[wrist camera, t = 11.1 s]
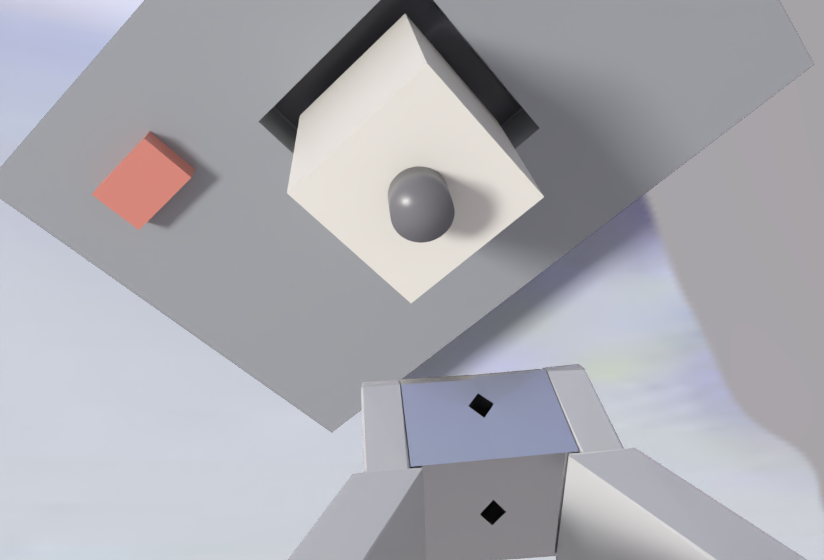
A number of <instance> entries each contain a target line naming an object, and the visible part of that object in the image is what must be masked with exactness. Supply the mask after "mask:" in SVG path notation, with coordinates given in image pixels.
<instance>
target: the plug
mask: <svg viewBox="0 0 824 560" xmlns="http://www.w3.org/2000/svg"><path fill="white" fill-rule="evenodd" d="M287 194H288V195H290V196H291V197H292V198H293V199H294V200H295V201H296V202H297V203H299V204H300V205H301V206H302V207H303V208H304V209H305V210H306V211H307V212H309V213H310V214H311V215H312V216H313V217H314V218H315V219H316V220H318V221H319V222H320V223H321V224H322V225H323V226H324V227H325V228H327V229H328V230H329V231H330V232H331V233H332V234H333V235H334V236H336V237H337V238H338V239H339V240H340V241H341V242H342V243H343V244H345V245H346V246H347V247H348V248H349V249H350V250H351V251H352V252H354V253H355V254H356V255H357V256H358V257H359V258H360V259H361V260H363V261H364V262H365V263H366V264H367V265H368V266H369V267H370V268H372V269H373V270H374V271H375V272H376V273H377V274H378V275H379V276H381V277H382V278H383V279H384V280H385V281H386V282H387V283H388V284H390V285H391V286H392V287H393V288H394V289H395V290H396V291H397V292H399V293H400V294H401V295H402V296H403V297H404V298H405V299H406V300H408V301H409V302H410V303H412V302H414V301H415V300H416V299H417V298H419V297H420V296H421V295H422V294H424V293H425V292H426V291H427V290H429V289H430V288H431V287H432V286H434V285H435V284H436V283H437V282H439V281H440V280H441V279H442V278H444V277H445V276H446V275H447V274H449V273H450V272H451V271H452V270H454V269H455V268H456V267H457V266H459V265H460V264H461V263H462V262H464V261H465V260H466V259H467V258H469V257H470V256H471V255H472V254H474V253H475V252H476V251H477V250H479V249H480V248H481V247H482V246H484V245H485V244H486V243H487V242H489V241H490V240H491V239H492V238H494V237H495V236H496V235H497V234H499V233H500V232H501V231H502V230H504V229H505V228H506V227H507V226H509V225H510V224H511V223H512V222H514V221H515V220H516V219H517V218H519V217H520V216H521V215H522V214H524V213H525V212H526V211H527V210H529V209H530V208H531V207H532V206H534V205H535V204H536V203H537V202H539V201H540V200H541V199H542V198H544V196H543V194H542V192H541V191H540V189H539V188H538V186H537V184H536V183H535V181H534V179H533V178H532V176H531V175H530V173H529V171H528V170H527V168H526V166H525V165H524V163H523V162H522V160H521V158H520V157H519V155H518V153H517V152H516V150H515V149H514V147H513V145H512V144H511V142H510V140H509V139H508V137H507V136H506V134H505V132H504V131H503V129H502V127H501V126H500V124H499V123H498V121H497V120H496V119H495V117H494V116H493V115H492V114H491V113H490V112H489V110H488V109H487V108H486V107H485V106H484V105H483V103H482V102H481V101H480V100H479V99H478V98H477V96H476V95H475V94H474V93H473V92H472V91H471V89H470V88H469V87H468V86H467V85H466V84H465V82H464V81H463V80H462V79H461V78H460V77H459V75H458V74H457V73H456V72H455V71H454V70H453V68H452V67H451V66H450V65H449V64H448V63H447V61H446V60H445V59H444V58H443V57H442V56H441V54H440V53H439V52H438V51H437V50H436V49H435V48H434V46H433V45H432V44H431V43H430V42H429V41H428V39H427V38H426V37H425V36H424V35H423V34H422V32H421V31H420V30H419V29H418V28H417V27H416V25H415V24H414V23H413V22H412V21H411V20H410V18H409V17H408V16H407V15H406V14H404V15H403V16H402V17H401V18H400V19H399V20H398V21H397V22H396V23H395V24H394V25H393V26H392V27H391V28H389V29H388V30H387V31H386V32H385V33H384V34H383V35H382V36H381V37H380V38H379V39H378V40H377V41H376V42H375V43H374V44H373V45H372V46H371V47H370V48H369V49H368V50H367V51H366V52H365V53H364V54H363V55H362V56H361V57H360V58H359V59H358V60H357V61H355V62H354V63H353V64H352V65H351V66H350V67H349V68H348V69H347V70H346V71H345V72H344V73H343V74H342V75H341V76H340V77H339V78H338V79H337V80H336V81H335V82H334V83H333V84H332V85H331V86H330V87H329V88H328V89H327V90H326V91H325V92H324V93H322V94H321V95H320V96H319V97H318V98H317V99H316V100H315V101H314V102H313V103H312V104H311V105H310V106H309V107H308V108H307V109H306V110H305V111H304V112H303V113H302V114H301V115H300V117H299V123H298V129H297V135H296V141H295V147H294V153H293V159H292V165H291V171H290V177H289V183H288V189H287Z"/></svg>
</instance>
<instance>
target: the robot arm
mask: <svg viewBox="0 0 824 560" xmlns="http://www.w3.org/2000/svg"><path fill="white" fill-rule="evenodd" d="M361 405H362V432H363V458H364V473H357V474H352V475H351V477H350V478H349V479H348V481H347V482H346V483H345V485H344V486H343V487H342V489H341V490H340V491H339V493H338V494H337V495H336V497H335V498H334V499H333V501H332V502H331V503H330V505H329V506H328V507H327V509H326V510H325V511H324V512H323V514H322V515H321V516H320V518H319V519H318V520H317V522H316V523H315V524H314V526H313V527H312V528H311V530H310V531H309V532H308V534H307V535H306V536H305V538H304V539H303V540H302V542H301V543H300V544H299V546H298V547H297V548H296V549H295V551H294V552H293V553H292V555H291V556H290V557H289V559H288V560H506V559H520V558H533V557H547V556H556V560H807V559H805V558H804V557H802V556H801V555H799V554H798V553H796V552H795V551H793V550H791V549H790V548H788V547H787V546H785V545H784V544H782V543H781V542H779V541H778V540H776V539H775V538H773V537H771V536H770V535H768V534H767V533H765V532H764V531H762V530H761V529H759V528H758V527H756V526H755V525H753V524H751V523H750V522H748V521H747V520H745V519H744V518H742V517H741V516H739V515H738V514H736V513H734V512H733V511H731V510H730V509H728V508H727V507H725V506H724V505H722V504H721V503H719V502H718V501H716V500H714V499H713V498H711V497H710V496H708V495H707V494H705V493H704V492H702V491H701V490H699V489H698V488H696V487H694V486H693V485H691V484H690V483H688V482H687V481H685V480H684V479H682V478H681V477H679V476H678V475H676V474H674V473H673V472H671V471H670V470H668V469H667V468H665V467H664V466H662V465H661V464H659V463H658V462H656V461H654V460H653V459H651V458H650V457H648V456H647V455H645V454H644V453H642V452H641V451H639V450H637V449H636V448H630V449H624V448H623V446H622V444H621V442H620V440H619V438H618V436H617V434H616V432H615V430H614V428H613V426H612V424H611V422H610V420H609V418H608V416H607V414H606V412H605V410H604V408H603V406H602V404H601V402H600V400H599V398H598V395H597V393H596V391H595V389H594V387H593V385H592V383H591V381H590V379H589V377H588V375H587V373H586V371H585V369H584V368H583V367H582V366H580V365H579V364H574V365H565V366H555V367H546V368H542V369H534V370H523V371H512V372H501V373H489V374H478V375H462V376H446V377H429V378H413V379H400V383H399V381H398V380H389V381H374V382H362V387H361Z"/></svg>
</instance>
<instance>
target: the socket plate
mask: <svg viewBox="0 0 824 560" xmlns="http://www.w3.org/2000/svg"><path fill="white" fill-rule="evenodd" d="M404 14H406V15H407V16H408V17H409V18H410V20H411V21H412V22H413V23H414V24H415V25H416V27H417V28H418V29H419V30H420V31H421V32H422V34H423V35H424V36H425V37H426V38H427V39H428V41H429V42H430V43H431V44H432V45H433V46H434V48H435V49H436V50H437V51H438V52H439V53H440V54H441V56H442V57H443V58H444V59H445V60H446V61H447V63H448V64H449V65H450V66H451V67H452V68H453V70H454V71H455V72H456V73H457V74H458V75H459V77H460V78H461V79H462V80H463V81H464V82H465V84H466V85H467V86H468V87H469V88H470V89H471V91H472V92H473V93H474V94H475V95H476V96H477V98H478V99H479V100H480V101H481V102H482V103H483V105H484V106H485V107H486V108H487V109H488V110H489V112H490V113H491V114H492V115H493V116H494V117H495V119H496V120H497V121H498V123H499V124H500V126H501V127H502V129H503V131H504V132H505V134H506V136H507V137H508V139H509V140H510V142H511V144H512V145H513V147H514V149H515V150H516V152H517V153H518V155H519V157H520V158H521V160H522V162H523V163H524V165H525V166H526V168H527V170H528V171H529V173H530V175H531V176H532V178H533V179H534V181H535V183H536V184H537V186H538V188H539V189H540V191H541V192H542V194H543V196H544V198H542V199H541V200H540V201H539V202H537V203H536V204H535V205H534V206H532V207H531V208H530V209H529V210H527V211H526V212H525V213H524V214H522V215H521V216H520V217H519V218H517V219H516V220H515V221H514V222H512V223H511V224H510V225H509V226H507V227H506V228H505V229H504V230H502V231H501V232H500V233H499V234H497V235H496V236H495V237H494V238H492V239H491V240H490V241H489V242H487V243H486V244H485V245H484V246H482V247H481V248H480V249H479V250H477V251H476V252H475V253H474V254H472V255H471V256H470V257H469V258H467V259H466V260H465V261H464V262H462V263H461V264H460V265H459V266H457V267H456V268H455V269H454V270H452V271H451V272H450V273H449V274H447V275H446V276H445V277H444V278H442V279H441V280H440V281H439V282H437V283H436V284H435V285H434V286H432V287H431V288H430V289H429V290H427V291H426V292H425V293H424V294H422V295H421V296H420V297H419V298H417V299H416V300H415V301H414V302H412V303H410V302H409V301H408V300H406V299H405V298H404V297H403V296H402V295H401V294H400V293H399V292H397V291H396V290H395V289H394V288H393V287H392V286H391V285H390V284H388V283H387V282H386V281H385V280H384V279H383V278H382V277H381V276H379V275H378V274H377V273H376V272H375V271H374V270H373V269H372V268H370V267H369V266H368V265H367V264H366V263H365V262H364V261H363V260H361V259H360V258H359V257H358V256H357V255H356V254H355V253H354V252H352V251H351V250H350V249H349V248H348V247H347V246H346V245H345V244H343V243H342V242H341V241H340V240H339V239H338V238H337V237H336V236H334V235H333V234H332V233H331V232H330V231H329V230H328V229H327V228H325V227H324V226H323V225H322V224H321V223H320V222H319V221H318V220H316V219H315V218H314V217H313V216H312V215H311V214H310V213H309V212H307V211H306V210H305V209H304V208H303V207H302V206H301V205H300V204H299V203H297V202H296V201H295V200H294V199H293V198H292V197H291V196H290V195H288V194H287V189H288V183H289V177H290V171H291V165H292V159H293V153H294V147H295V141H296V135H297V129H298V123H299V117H300V115H301V114H302V113H303V112H304V111H305V110H306V109H307V108H308V107H309V106H310V105H311V104H312V103H313V102H314V101H315V100H316V99H317V98H318V97H319V96H320V95H321V94H322V93H324V92H325V91H326V90H327V89H328V88H329V87H330V86H331V85H332V84H333V83H334V82H335V81H336V80H337V79H338V78H339V77H340V76H341V75H342V74H343V73H344V72H345V71H346V70H347V69H348V68H349V67H350V66H351V65H352V64H353V63H354V62H355V61H357V60H358V59H359V58H360V57H361V56H362V55H363V54H364V53H365V52H366V51H367V50H368V49H369V48H370V47H371V46H372V45H373V44H374V43H375V42H376V41H377V40H378V39H379V38H380V37H381V36H382V35H383V34H384V33H385V32H386V31H387V30H388V29H389V28H391V27H392V26H393V25H394V24H395V23H396V22H397V21H398V20H399V19H400V18H401V17H402V16H403V15H404ZM813 65H814V63H813V61H812V59H811V57H810V55H809V54H808V52H807V50H806V48H805V46H804V45H803V43H802V41H801V39H800V37H799V35H798V34H797V32H796V30H795V28H794V26H793V24H792V22H791V21H790V19H789V17H788V15H787V13H786V11H785V10H784V8H783V6H782V4H781V2H780V1H779V0H144V2H143V3H142V4H141V5H140V6H139V7H138V9H137V10H136V11H135V12H134V13H133V14H132V16H131V17H130V18H129V19H128V20H127V21H126V22H125V24H124V25H123V26H122V27H121V28H120V29H119V31H118V32H117V33H116V34H115V35H114V36H113V38H112V39H111V40H110V41H109V42H108V43H107V44H106V46H105V47H104V48H103V49H102V50H101V51H100V53H99V54H98V55H97V56H96V57H95V58H94V60H93V61H92V62H91V63H90V64H89V65H88V66H87V68H86V69H85V70H84V71H83V72H82V73H81V75H80V76H79V77H78V78H77V79H76V80H75V82H74V83H73V84H72V85H71V86H70V87H69V88H68V90H67V91H66V92H65V93H64V94H63V95H62V97H61V98H60V99H59V100H58V101H57V102H56V104H55V105H54V106H53V107H52V108H51V109H50V110H49V112H48V113H47V114H46V115H45V116H44V117H43V119H42V120H41V121H40V122H39V123H38V124H37V126H36V127H35V128H34V129H33V130H32V131H31V132H30V134H29V135H28V136H27V137H26V138H25V139H24V141H23V142H22V143H21V144H20V145H19V146H18V147H17V149H16V150H15V151H14V152H13V153H12V154H11V156H10V157H9V158H8V159H7V160H6V161H5V163H4V164H3V165H2V166H1V167H0V199H2V200H3V201H4V202H6V203H7V204H9V205H10V206H11V207H13V208H14V209H16V210H17V211H19V212H20V213H21V214H23V215H24V216H26V217H27V218H28V219H30V220H31V221H33V222H34V223H36V224H37V225H38V226H40V227H41V228H43V229H44V230H45V231H47V232H48V233H50V234H51V235H53V236H54V237H55V238H57V239H58V240H60V241H61V242H62V243H64V244H65V245H67V246H68V247H70V248H71V249H72V250H74V251H75V252H77V253H78V254H79V255H81V256H82V257H84V258H85V259H87V260H88V261H89V262H91V263H92V264H94V265H95V266H96V267H98V268H99V269H101V270H102V271H104V272H105V273H106V274H108V275H109V276H111V277H112V278H113V279H115V280H116V281H118V282H119V283H121V284H122V285H123V286H125V287H126V288H128V289H129V290H130V291H132V292H133V293H135V294H136V295H138V296H139V297H140V298H142V299H143V300H145V301H146V302H147V303H149V304H150V305H152V306H153V307H155V308H156V309H157V310H159V311H160V312H162V313H163V314H164V315H166V316H167V317H169V318H170V319H172V320H173V321H174V322H176V323H177V324H179V325H180V326H181V327H183V328H184V329H186V330H187V331H189V332H190V333H191V334H193V335H194V336H196V337H197V338H198V339H200V340H201V341H203V342H204V343H206V344H207V345H208V346H210V347H211V348H213V349H214V350H215V351H217V352H218V353H220V354H221V355H223V356H224V357H225V358H227V359H228V360H230V361H231V362H232V363H234V364H235V365H237V366H238V367H240V368H241V369H242V370H244V371H245V372H247V373H248V374H249V375H251V376H252V377H254V378H255V379H257V380H258V381H259V382H261V383H262V384H264V385H265V386H266V387H268V388H269V389H271V390H272V391H274V392H275V393H276V394H278V395H279V396H281V397H282V398H283V399H285V400H286V401H288V402H289V403H291V404H292V405H293V406H295V407H296V408H298V409H299V410H300V411H302V412H303V413H305V414H306V415H308V416H309V417H310V418H312V419H313V420H315V421H316V422H317V423H319V424H320V425H322V426H323V427H325V428H326V429H327V430H329V431H330V432H333V431H334V430H336V429H337V428H338V427H340V426H341V425H342V424H344V423H345V422H346V421H348V420H349V419H350V418H351V417H353V416H354V415H355V414H357V413H358V412H359V411H361V410H362V405H361V387H362V382H374V381H389V380H398V381H400V379H403V378H404V377H405V376H406V375H408V374H409V373H410V372H412V371H413V370H414V369H416V368H417V367H418V366H420V365H421V364H422V363H424V362H425V361H426V360H427V359H429V358H430V357H431V356H433V355H434V354H435V353H437V352H438V351H439V350H441V349H442V348H443V347H444V346H446V345H447V344H448V343H450V342H451V341H452V340H454V339H455V338H456V337H458V336H459V335H460V334H462V333H463V332H464V331H465V330H467V329H468V328H469V327H471V326H472V325H473V324H475V323H476V322H477V321H479V320H480V319H481V318H482V317H484V316H485V315H486V314H488V313H489V312H490V311H492V310H493V309H494V308H496V307H497V306H498V305H500V304H501V303H502V302H503V301H505V300H506V299H507V298H509V297H510V296H511V295H513V294H514V293H515V292H517V291H518V290H519V289H520V288H522V287H523V286H524V285H526V284H527V283H528V282H530V281H531V280H532V279H534V278H535V277H536V276H538V275H539V274H540V273H541V272H543V271H544V270H545V269H547V268H548V267H549V266H551V265H552V264H553V263H555V262H556V261H557V260H558V259H560V258H561V257H562V256H564V255H565V254H566V253H568V252H569V251H570V250H572V249H573V248H574V247H576V246H577V245H578V244H579V243H581V242H582V241H583V240H585V239H586V238H587V237H589V236H590V235H591V234H593V233H594V232H595V231H596V230H598V229H599V228H600V227H602V226H603V225H604V224H606V223H607V222H608V221H610V220H611V219H612V218H613V217H615V216H616V215H617V214H619V213H620V212H621V211H623V210H624V209H625V208H627V207H628V206H629V205H631V204H632V203H633V202H634V201H636V200H637V199H638V198H640V197H641V196H642V195H644V194H645V193H646V192H648V191H649V190H650V189H651V188H653V187H654V186H655V185H657V184H658V183H659V182H660V181H662V180H663V179H665V178H666V177H667V176H668V175H670V174H671V173H672V172H674V171H675V170H676V169H678V168H679V167H680V166H681V165H683V164H684V163H686V162H687V161H688V160H689V159H691V158H692V157H693V156H695V155H696V154H697V153H699V152H700V151H701V150H702V149H704V148H705V147H706V146H708V145H709V144H710V143H712V142H713V141H714V140H716V139H717V138H718V137H720V136H721V135H722V134H724V133H725V132H726V131H727V130H729V129H730V128H731V127H733V126H734V125H735V124H737V123H738V122H739V121H741V120H742V119H743V118H745V116H747V115H748V114H750V113H751V112H752V111H753V110H755V109H756V108H758V107H759V106H760V105H762V104H763V103H764V102H765V101H767V100H768V99H769V98H771V97H772V96H773V95H775V94H776V93H777V92H778V91H780V90H781V89H782V88H784V87H785V86H786V85H788V84H789V83H790V82H792V81H793V80H794V79H796V78H797V77H798V76H799V75H801V74H802V73H803V72H805V71H806V70H807V69H809V68H810V67H811V66H813Z"/></svg>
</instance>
